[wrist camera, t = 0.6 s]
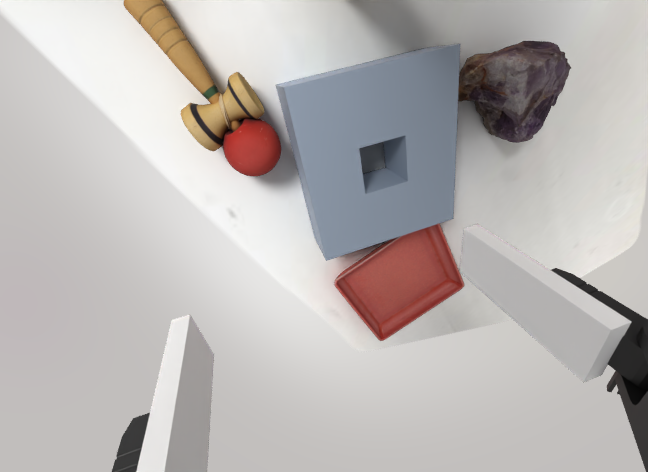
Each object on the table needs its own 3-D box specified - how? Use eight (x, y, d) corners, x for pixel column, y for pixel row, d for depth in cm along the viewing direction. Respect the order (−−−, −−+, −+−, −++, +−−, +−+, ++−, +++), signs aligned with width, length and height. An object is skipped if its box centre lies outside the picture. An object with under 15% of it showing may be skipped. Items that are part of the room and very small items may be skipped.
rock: (471, 140, 43) (528, 83, 41) (521, 162, 37) (592, 96, 34) (438, 79, 36) (505, 6, 33) (493, 94, 29) (581, 4, 27)
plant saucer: (423, 204, 45) (436, 213, 42) (454, 276, 55) (466, 287, 52) (325, 270, 46) (331, 283, 43) (373, 329, 56) (380, 342, 53)
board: (275, 84, 32) (283, 87, 27) (426, 47, 34) (460, 43, 29) (314, 238, 42) (326, 260, 37) (428, 201, 45) (453, 218, 39)
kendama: (111, 37, 28) (239, 189, 35) (83, 8, 22) (244, 197, 29) (178, -9, 28) (290, 149, 36) (168, -49, 23) (304, 149, 30)
